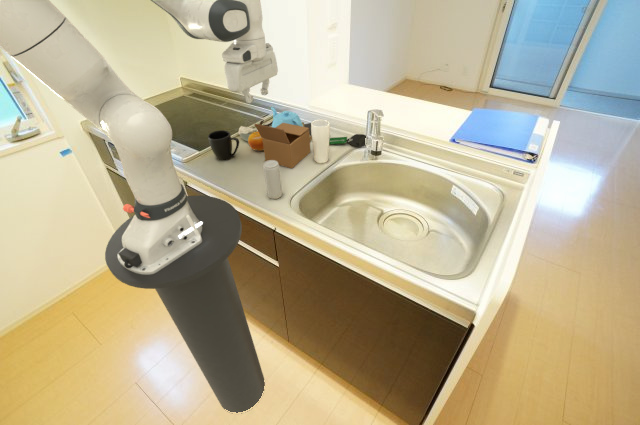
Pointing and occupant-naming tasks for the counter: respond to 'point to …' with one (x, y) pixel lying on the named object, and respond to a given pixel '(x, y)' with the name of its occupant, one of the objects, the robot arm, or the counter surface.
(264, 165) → the beverage can
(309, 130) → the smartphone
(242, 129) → the arrowhead
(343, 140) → the business card
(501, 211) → the counter surface
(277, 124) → the teapot
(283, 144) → the carton
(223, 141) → the mug
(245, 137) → the rock
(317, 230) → the counter surface
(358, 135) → the rock
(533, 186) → the counter surface
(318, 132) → the drinking glass
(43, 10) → the robot arm
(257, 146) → the fruit
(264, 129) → the flap
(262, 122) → the brown curved piece
